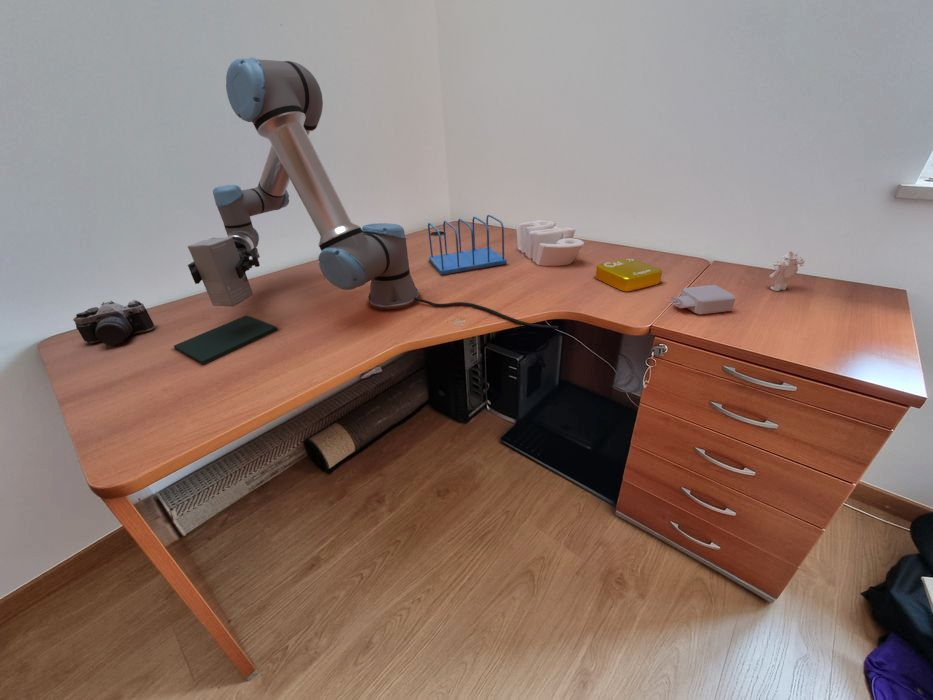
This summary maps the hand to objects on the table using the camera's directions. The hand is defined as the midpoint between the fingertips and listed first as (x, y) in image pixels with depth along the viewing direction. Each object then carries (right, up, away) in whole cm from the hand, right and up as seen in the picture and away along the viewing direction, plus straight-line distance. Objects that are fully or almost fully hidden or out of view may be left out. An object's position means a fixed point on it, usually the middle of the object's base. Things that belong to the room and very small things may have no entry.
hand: (216, 275), depth 96 cm
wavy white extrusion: (+91, +19, +58) cm, 110 cm away
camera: (-35, -15, +13) cm, 40 cm away
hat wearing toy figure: (+153, 0, +21) cm, 154 cm away
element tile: (+112, +4, +32) cm, 117 cm away
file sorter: (+61, +15, +53) cm, 82 cm away
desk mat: (-4, -15, +10) cm, 19 cm away
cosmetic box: (-1, -5, +8) cm, 10 cm away
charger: (+123, -7, +13) cm, 124 cm away
